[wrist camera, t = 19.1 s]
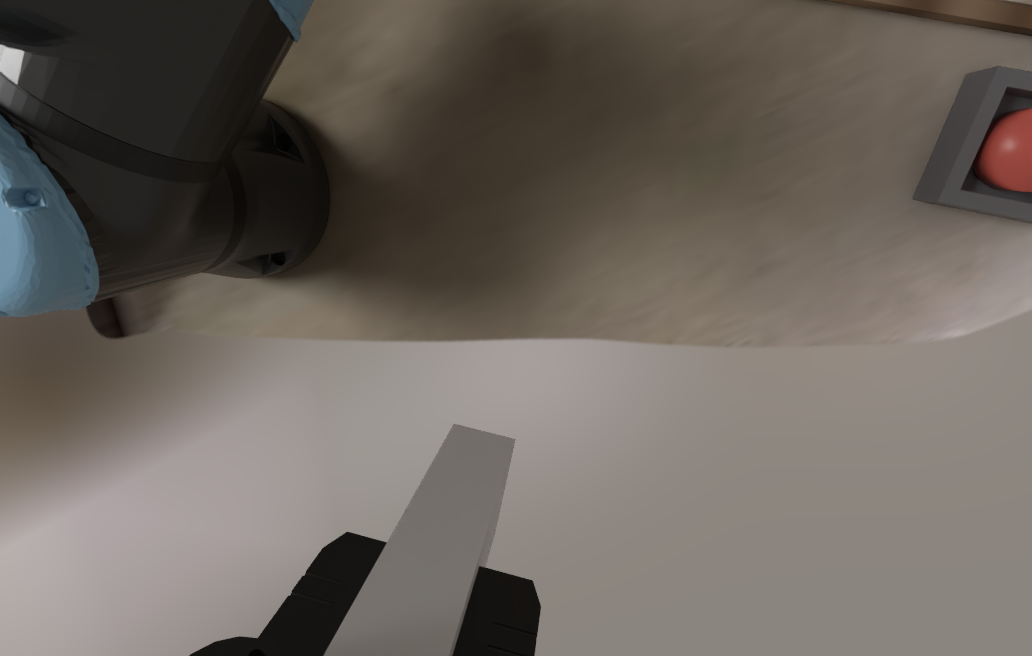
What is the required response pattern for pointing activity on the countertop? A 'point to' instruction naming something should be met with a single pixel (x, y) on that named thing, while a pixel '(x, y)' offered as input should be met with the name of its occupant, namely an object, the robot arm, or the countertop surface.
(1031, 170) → the button
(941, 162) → the button housing
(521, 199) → the countertop surface
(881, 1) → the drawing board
